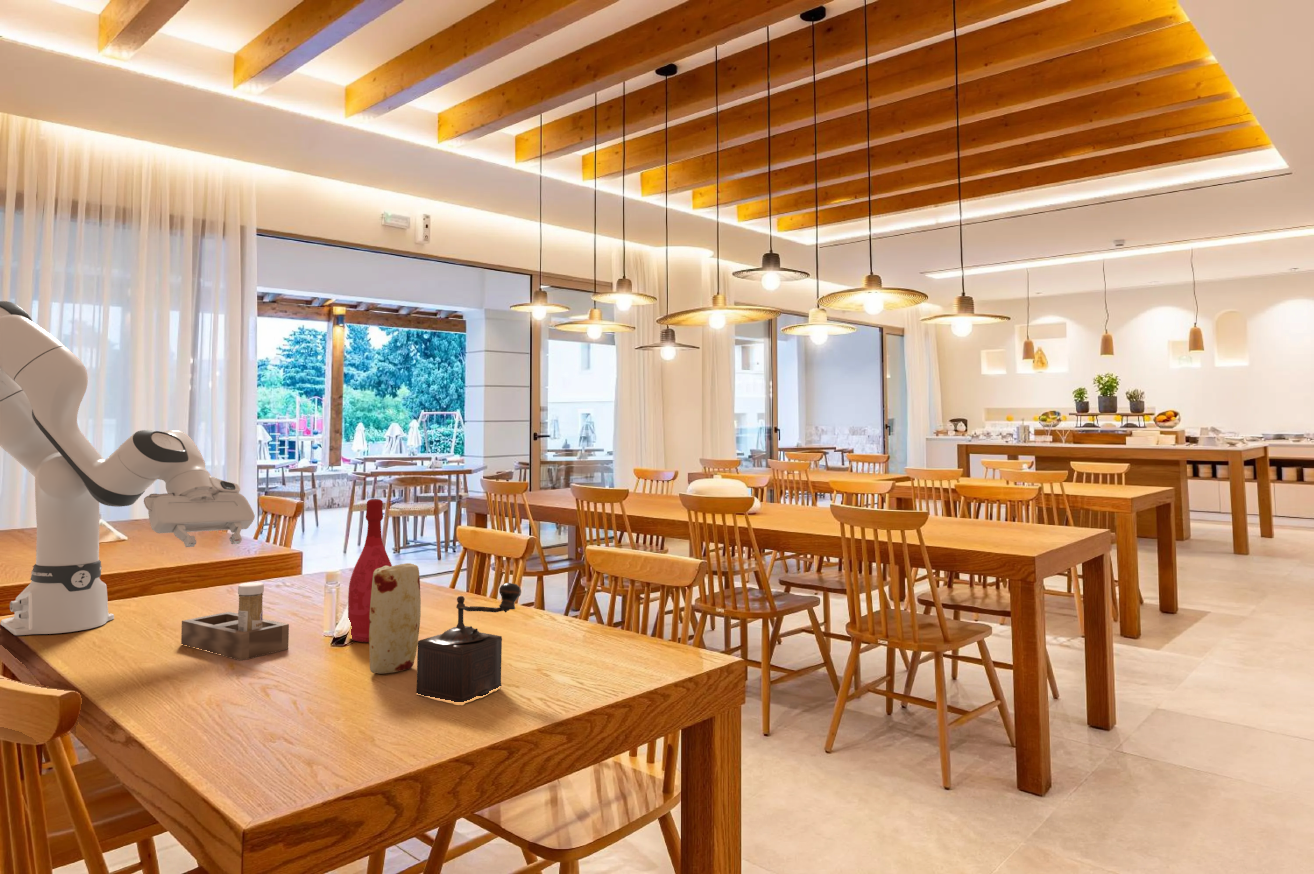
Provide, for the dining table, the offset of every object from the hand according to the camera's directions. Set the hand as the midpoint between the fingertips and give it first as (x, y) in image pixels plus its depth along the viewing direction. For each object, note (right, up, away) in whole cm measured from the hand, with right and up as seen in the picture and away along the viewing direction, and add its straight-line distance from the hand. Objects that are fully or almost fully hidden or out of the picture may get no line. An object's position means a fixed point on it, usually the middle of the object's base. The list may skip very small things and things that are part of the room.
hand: (214, 543), depth 162 cm
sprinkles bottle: (+11, -21, -7) cm, 24 cm away
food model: (+44, -21, -18) cm, 52 cm away
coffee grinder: (+60, -22, -27) cm, 70 cm away
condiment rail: (+7, -20, -5) cm, 22 cm away
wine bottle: (+31, -21, +5) cm, 38 cm away
